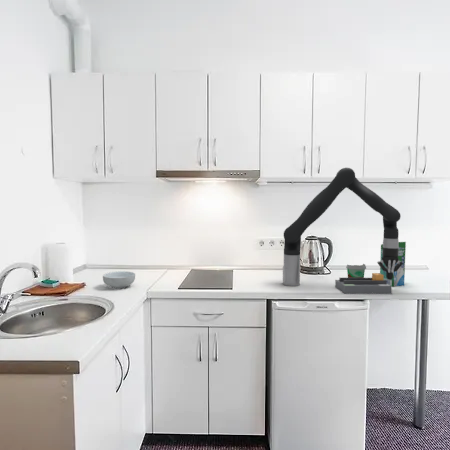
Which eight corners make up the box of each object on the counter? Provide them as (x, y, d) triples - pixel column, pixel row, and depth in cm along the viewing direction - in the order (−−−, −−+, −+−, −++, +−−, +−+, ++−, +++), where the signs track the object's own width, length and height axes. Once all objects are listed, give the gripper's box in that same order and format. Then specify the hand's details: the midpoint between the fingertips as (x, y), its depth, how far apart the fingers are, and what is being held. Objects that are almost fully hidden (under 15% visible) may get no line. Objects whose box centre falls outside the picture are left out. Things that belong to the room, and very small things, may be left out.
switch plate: (344, 293, 168) (344, 282, 168) (335, 287, 182) (335, 276, 182) (391, 293, 168) (391, 282, 168) (378, 287, 182) (378, 276, 182)
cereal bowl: (101, 291, 170) (101, 278, 170) (104, 284, 186) (103, 272, 186) (135, 289, 175) (135, 276, 175) (135, 282, 191) (135, 270, 191)
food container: (352, 283, 191) (352, 266, 190) (345, 281, 197) (346, 264, 196) (370, 282, 194) (370, 265, 194) (363, 280, 200) (363, 263, 199)
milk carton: (391, 281, 195) (392, 239, 194) (404, 285, 187) (405, 241, 186) (379, 283, 192) (380, 240, 191) (392, 286, 184) (393, 242, 182)
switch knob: (375, 283, 173) (375, 274, 173) (371, 281, 177) (372, 273, 177) (383, 283, 173) (383, 274, 173) (379, 281, 177) (379, 273, 177)
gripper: (381, 247, 170) (380, 280, 171) (406, 247, 170) (405, 280, 171) (374, 246, 178) (373, 277, 179) (399, 246, 178) (398, 277, 179)
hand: (389, 279), depth 175 cm, fingers closed
